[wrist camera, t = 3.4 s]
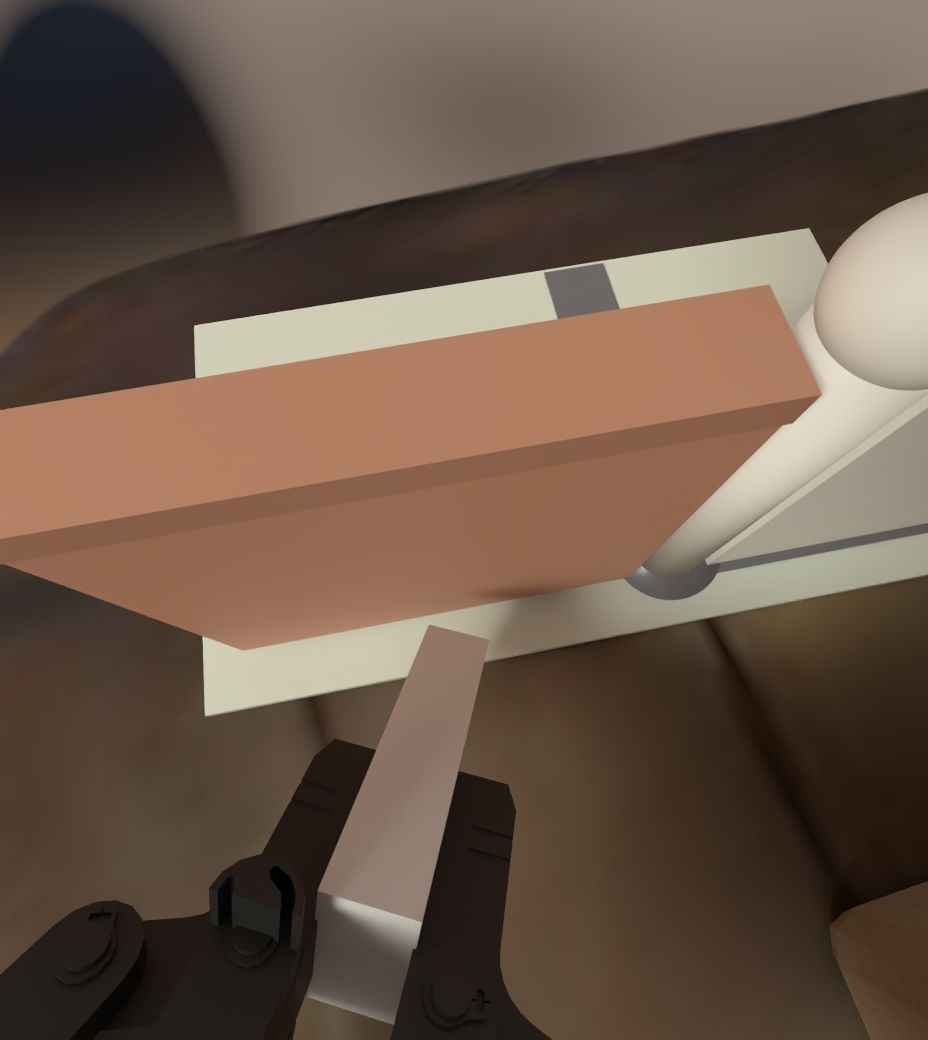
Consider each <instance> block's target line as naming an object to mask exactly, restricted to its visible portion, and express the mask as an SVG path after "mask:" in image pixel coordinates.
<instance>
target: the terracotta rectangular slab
mask: <svg viewBox="0 0 928 1040" xmlns="http://www.w3.org/2000/svg"><path fill="white" fill-rule="evenodd" d="M820 396H822V393H821V391H820V389H819V387H818V384H817V382H816V380H815V378H814V376H813V374H812V372H811V370H810V368H809V366H808V364H807V361H806V359H805V357H804V355H803V353H802V351H801V349H800V347H799V345H798V343H797V341H796V339H795V336H794V334H793V332H792V330H791V328H790V326H789V324H788V322H787V320H786V318H785V316H784V314H783V311H782V309H781V307H780V305H779V303H778V301H777V299H776V297H775V295H774V293H773V291H772V289H771V286H770V284H769V285H763V286H757V287H751V288H745V289H739V290H733V291H726V292H720V293H714V294H708V295H702V296H696V297H690V298H684V299H678V300H671V301H665V302H659V303H653V304H647V305H641V306H635V307H629V308H623V309H616V310H610V311H604V312H598V313H592V314H586V315H580V316H574V317H567V318H561V319H555V320H549V321H543V322H537V323H531V324H525V325H519V326H512V327H506V328H500V329H494V330H488V331H482V332H476V333H470V334H464V335H457V336H451V337H445V338H439V339H433V340H427V341H421V342H415V343H409V344H402V345H396V346H390V347H384V348H378V349H372V350H366V351H360V352H353V353H347V354H341V355H335V356H329V357H323V358H317V359H311V360H305V361H298V362H292V363H286V364H280V365H274V366H268V367H262V368H256V369H250V370H243V371H237V372H231V373H225V374H219V375H213V376H207V377H201V378H195V379H188V380H182V381H176V382H170V383H164V384H158V385H152V386H146V387H140V388H133V389H127V390H121V391H115V392H109V393H103V394H97V395H91V396H84V397H78V398H72V399H66V400H60V401H54V402H48V403H42V404H36V405H29V406H23V407H17V408H11V409H5V410H0V565H1V564H6V565H8V566H11V567H14V568H17V569H19V570H22V571H25V572H28V573H30V574H33V575H36V576H39V577H41V578H44V579H47V580H50V581H52V582H55V583H58V584H61V585H63V586H66V587H69V588H72V589H74V590H77V591H80V592H83V593H85V594H88V595H91V596H94V597H96V598H99V599H102V600H105V601H107V602H110V603H113V604H116V605H118V606H121V607H124V608H127V609H129V610H132V611H135V612H138V613H140V614H143V615H146V616H149V617H151V618H154V619H157V620H160V621H162V622H165V623H168V624H171V625H173V626H176V627H179V628H182V629H184V630H187V631H190V632H193V633H195V634H198V635H201V636H204V637H206V638H209V639H212V640H215V641H217V642H220V643H223V644H226V645H228V646H231V647H234V648H237V649H239V650H242V651H245V650H250V649H255V648H261V647H266V646H271V645H276V644H282V643H287V642H292V641H297V640H303V639H308V638H313V637H318V636H324V635H329V634H334V633H340V632H345V631H350V630H355V629H361V628H366V627H371V626H376V625H382V624H387V623H392V622H397V621H403V620H408V619H413V618H418V617H424V616H429V615H434V614H439V613H445V612H450V611H455V610H460V609H466V608H471V607H476V606H481V605H487V604H492V603H497V602H502V601H508V600H513V599H518V598H523V597H529V596H534V595H539V594H544V593H550V592H555V591H560V590H565V589H571V588H576V587H581V586H586V585H592V584H597V583H602V582H607V581H613V580H618V579H623V578H628V577H630V576H631V575H632V574H633V573H634V572H635V571H636V570H637V569H638V568H639V567H640V566H641V565H642V564H643V563H644V562H645V561H646V560H647V559H648V558H649V557H650V556H651V555H652V554H653V553H654V552H655V551H656V550H657V549H658V548H659V547H660V546H661V545H662V544H663V543H664V542H665V541H666V540H667V539H668V538H669V537H670V536H671V535H672V534H673V533H674V532H675V531H676V530H677V529H678V528H679V527H680V526H681V525H682V524H683V523H684V522H685V521H686V520H687V519H688V518H689V517H690V516H691V515H692V514H693V513H695V512H696V511H697V510H698V509H699V508H700V507H701V506H702V505H703V504H704V503H705V502H706V501H707V500H708V499H709V498H710V497H711V496H712V495H713V494H714V493H715V492H716V491H717V490H718V489H719V488H720V487H721V486H722V485H723V484H724V483H725V482H726V481H727V480H728V479H729V478H730V477H731V476H732V475H733V474H734V473H735V472H736V471H737V470H738V469H739V468H740V467H741V466H742V465H743V464H744V463H745V462H746V461H747V460H748V459H749V458H750V457H751V456H752V455H753V454H754V453H755V452H756V451H757V450H758V449H759V448H760V447H761V446H762V445H763V444H764V443H765V442H766V441H767V440H768V439H769V438H770V437H771V436H772V435H773V434H774V433H775V432H776V431H777V430H778V429H779V428H780V427H781V426H782V425H787V424H793V423H794V422H795V421H796V420H797V419H798V418H799V417H800V416H801V415H802V414H803V413H804V412H805V411H806V410H807V409H808V408H809V407H810V406H811V405H812V404H813V403H814V402H815V401H816V400H817V399H818V398H819V397H820Z"/></svg>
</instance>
